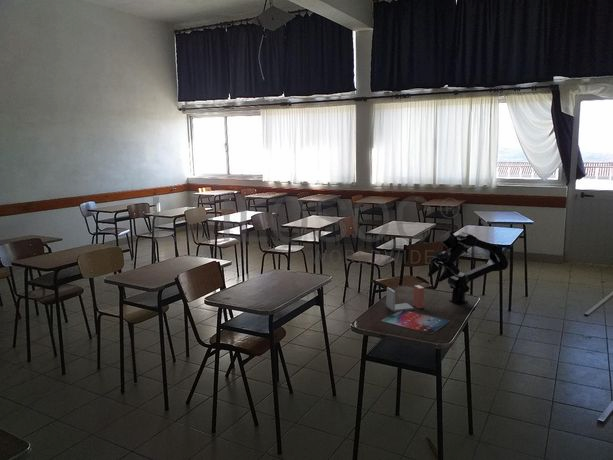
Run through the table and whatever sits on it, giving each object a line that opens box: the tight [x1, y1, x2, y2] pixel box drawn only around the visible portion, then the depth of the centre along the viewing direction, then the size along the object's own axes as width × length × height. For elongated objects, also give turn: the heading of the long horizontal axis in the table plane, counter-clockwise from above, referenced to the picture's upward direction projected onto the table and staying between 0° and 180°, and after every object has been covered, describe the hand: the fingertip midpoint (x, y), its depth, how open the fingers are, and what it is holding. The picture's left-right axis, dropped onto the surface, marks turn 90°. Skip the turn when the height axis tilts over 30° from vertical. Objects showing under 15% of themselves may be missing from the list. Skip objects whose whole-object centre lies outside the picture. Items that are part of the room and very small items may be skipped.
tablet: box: [380, 310, 451, 336], centre depth 213 cm, size 19×25×1 cm
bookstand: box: [385, 287, 415, 313], centre depth 229 cm, size 11×7×10 cm, turn 106°
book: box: [412, 284, 425, 309], centre depth 231 cm, size 3×5×10 cm, turn 16°
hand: (433, 278), depth 232 cm, fingers open, 9 cm apart
